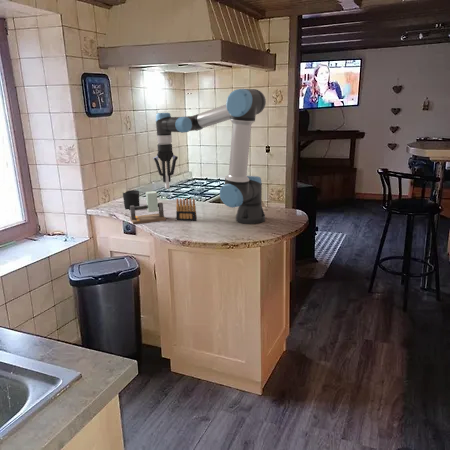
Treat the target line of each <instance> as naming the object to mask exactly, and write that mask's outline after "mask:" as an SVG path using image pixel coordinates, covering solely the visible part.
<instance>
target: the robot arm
mask: <svg viewBox="0 0 450 450" xmlns="http://www.w3.org/2000/svg"><path fill="white" fill-rule="evenodd" d="M266 100H267V99H266V96H265V95H264V93H263V92H262V91H261V90H259V89H255V88H239V89H235V90H233V91H231V92H230V93H229V95H228V96H227V98H226V102H225V104H222V105H221V106H218V107H217V106H216V107H213V108H212V109H208V110H205V111H203V112H200V113H198V114H197V113H196V114H195V115H187V116H172V115H171V113H170V112H157V113H156V114H155V126H156V127H155V128H156V140H157V141H156V143H157V154H156V156H154V157H152V159H153V161H154V162H155V165H156V169H157V172H158V175H159V176H161V177H162V182H163V183H164V185H165V186H164V187H165V189H167V190H168V189H170V183H171V180H172V179H171V176H172V175H174V173H175V170H176V163H177V160H178V158H179V156H177V155H175V154H174V152H173V144H172V142H173V139H172V133H189V132H193V131H200V130H203V129H204V128H208V127H211V126H214V125H216V124H219V123H223V122H226V121H229V120H230V121H231V123H232V127H231V128H232V130H231V139H230V140H231V141H230V151H229V152H230V153H229V164H228V165H229V167H228V174H227V175H226V176H225V177H224V184H223V185H222V186H221V187H220V189H219V198H220V200H221V201H222V203H223V204H224V206H227V207H228V208H237V212H236V215H235V221H236V222H237V223H239V224H244V225H248V224H250V225H251V224H261V223H264V222H265V221H266V214H265V212H264V209H263V203H262V201H263V199H262V198H263V197H262V195H263V194H262V193H263V192H262V189H263V188H262V186H263V185H262V177H260V176H257V175H248V165H249V164H248V163H249V153H250V142H251V132H252V124H254V123H255V122H256V117H257V115H259V114H261V113H262V112H263V111H264V110H265V107H266V104H267V103H266ZM159 160H160V161H161V165H160V163H159ZM171 161H172V163H171Z"/></svg>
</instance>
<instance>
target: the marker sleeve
mask: <svg viewBox="0 0 450 450" xmlns="http://www.w3.org/2000/svg"><path fill="white" fill-rule="evenodd" d="M145 201H146V205H148V208H146V211H147V212H148V213H154V212H159V209H158V203H159V201H158V193H157V192H156V191H155V190H154V191H153V190H151V191H145Z"/></svg>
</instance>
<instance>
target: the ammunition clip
mask: <svg viewBox="0 0 450 450" xmlns="http://www.w3.org/2000/svg"><path fill="white" fill-rule="evenodd" d="M175 207H176V212H175V214H176V216H175V217H176V222H178V221H180V222H197V220H198V219H197V210H196V209H197V207H196V201H195V197H194V198H189V199H188V198H186V199H185V198H184V197H183V199H182V198H181V197H180V198H178V197H177V198H176V206H175Z"/></svg>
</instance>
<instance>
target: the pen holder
mask: <svg viewBox="0 0 450 450" xmlns="http://www.w3.org/2000/svg"><path fill="white" fill-rule="evenodd" d="M122 198H123V204H124V205H123V206H124V209H125V210H126V209H129V211H130V206H133V205H134V206H135V207H136V206H141V205H140V191H139V190H138V189H137V190H135V189H133V190H127V191H125V192H122Z"/></svg>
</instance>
